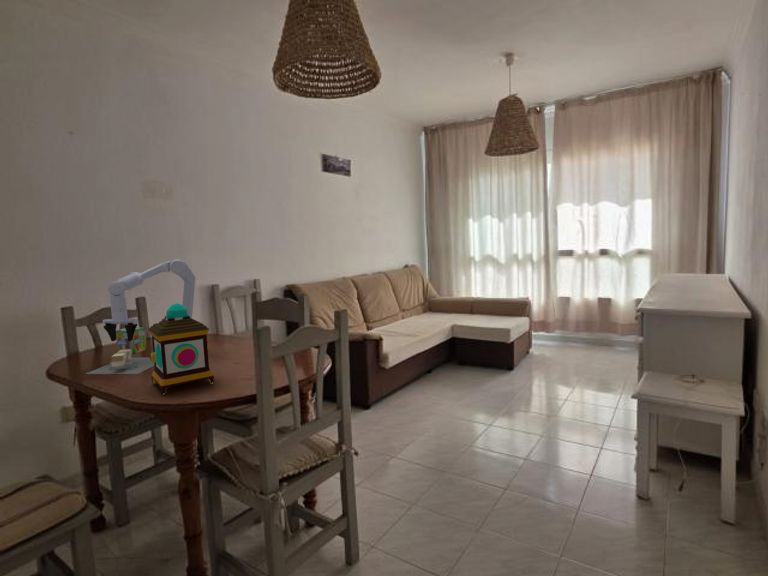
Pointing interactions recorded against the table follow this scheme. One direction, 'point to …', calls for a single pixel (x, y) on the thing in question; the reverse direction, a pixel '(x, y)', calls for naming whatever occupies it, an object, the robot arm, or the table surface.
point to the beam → (121, 357)
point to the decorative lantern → (179, 349)
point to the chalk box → (137, 342)
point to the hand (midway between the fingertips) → (122, 340)
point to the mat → (142, 365)
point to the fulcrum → (124, 366)
